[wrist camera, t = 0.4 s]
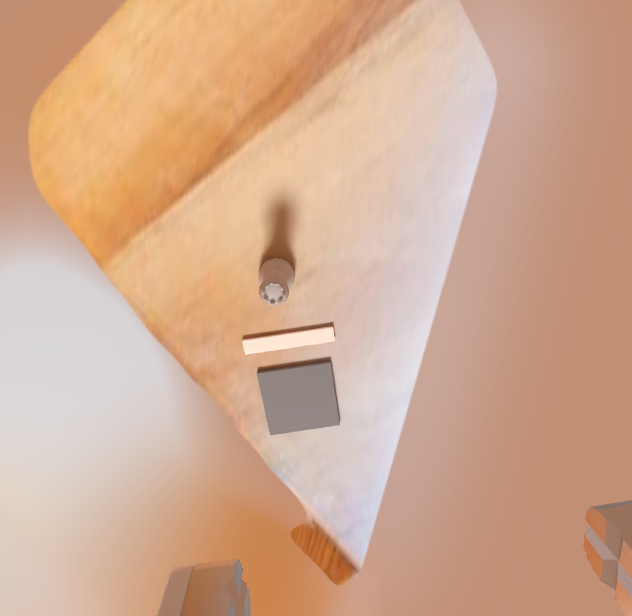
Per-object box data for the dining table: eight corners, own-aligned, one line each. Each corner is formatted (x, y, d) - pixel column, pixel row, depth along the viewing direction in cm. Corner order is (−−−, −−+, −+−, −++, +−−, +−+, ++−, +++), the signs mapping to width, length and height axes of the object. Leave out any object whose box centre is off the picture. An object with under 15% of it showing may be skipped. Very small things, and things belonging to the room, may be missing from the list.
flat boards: (242, 339, 56) (242, 341, 55) (332, 325, 55) (333, 327, 55) (263, 433, 61) (263, 436, 60) (346, 421, 61) (346, 423, 60)
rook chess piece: (284, 250, 52) (282, 266, 44) (300, 282, 53) (301, 303, 46) (252, 266, 52) (245, 285, 45) (269, 297, 54) (264, 320, 46)
